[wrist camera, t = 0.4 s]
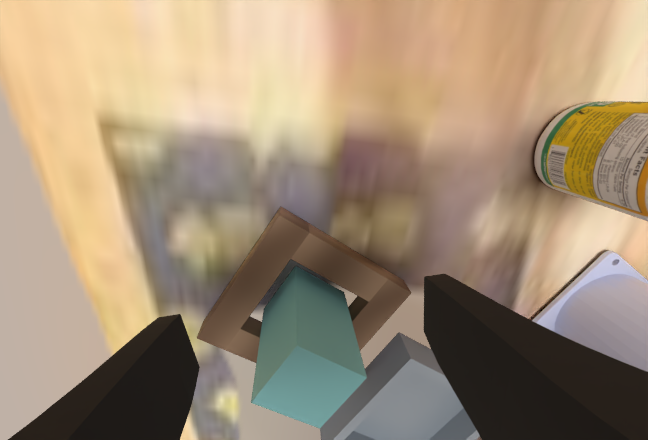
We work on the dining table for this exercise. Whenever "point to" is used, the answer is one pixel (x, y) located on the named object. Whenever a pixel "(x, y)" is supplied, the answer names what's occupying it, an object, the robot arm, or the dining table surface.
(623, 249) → the dining table surface
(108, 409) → the robot arm
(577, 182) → the supplement bottle
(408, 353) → the tray
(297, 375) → the peg
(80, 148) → the dining table surface
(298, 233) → the tan square frame
